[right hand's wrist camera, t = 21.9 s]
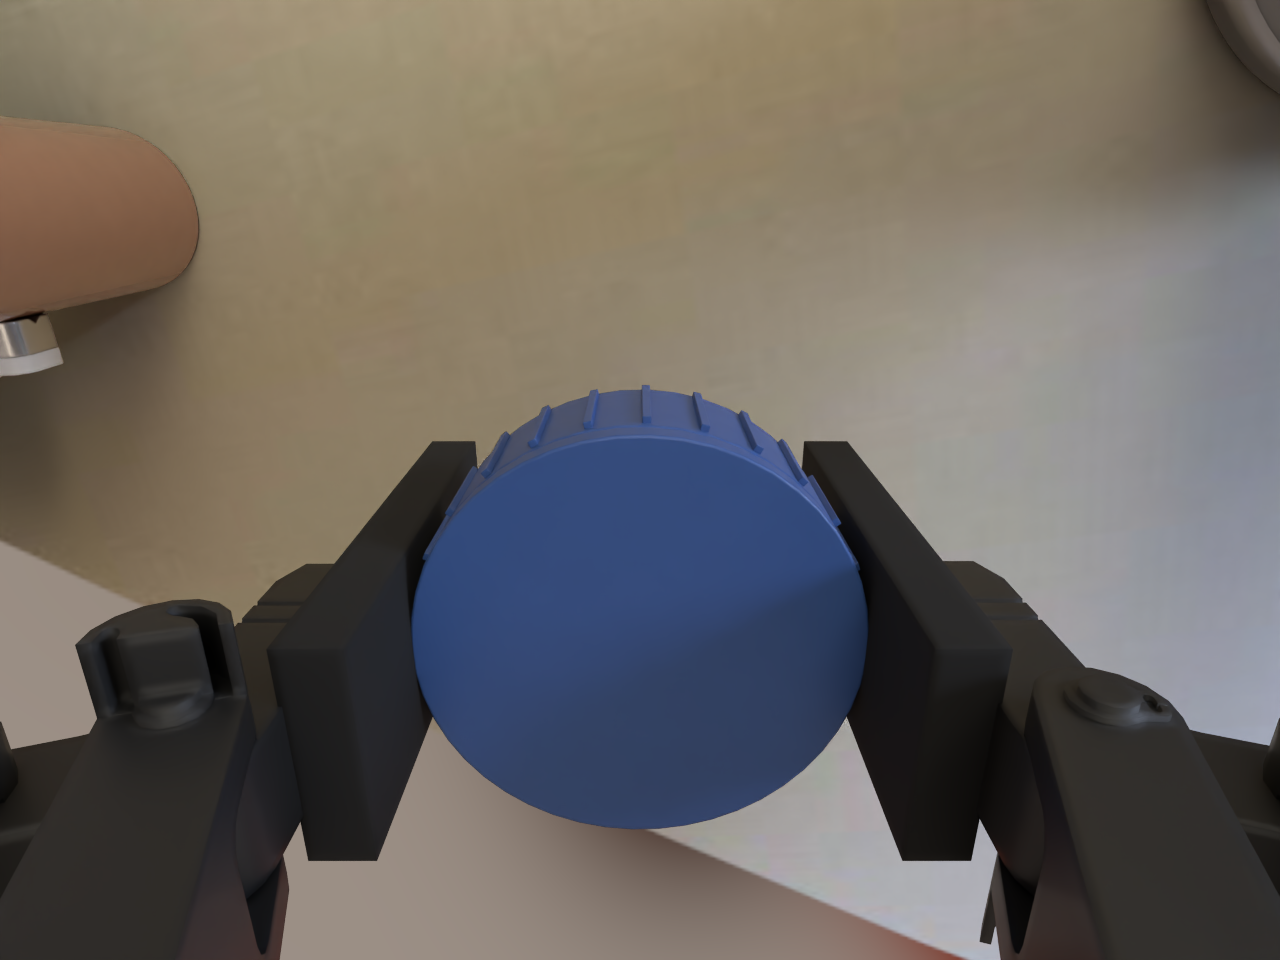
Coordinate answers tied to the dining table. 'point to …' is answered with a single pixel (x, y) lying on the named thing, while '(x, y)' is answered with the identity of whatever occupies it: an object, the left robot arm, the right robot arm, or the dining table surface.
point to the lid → (639, 613)
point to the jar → (86, 216)
